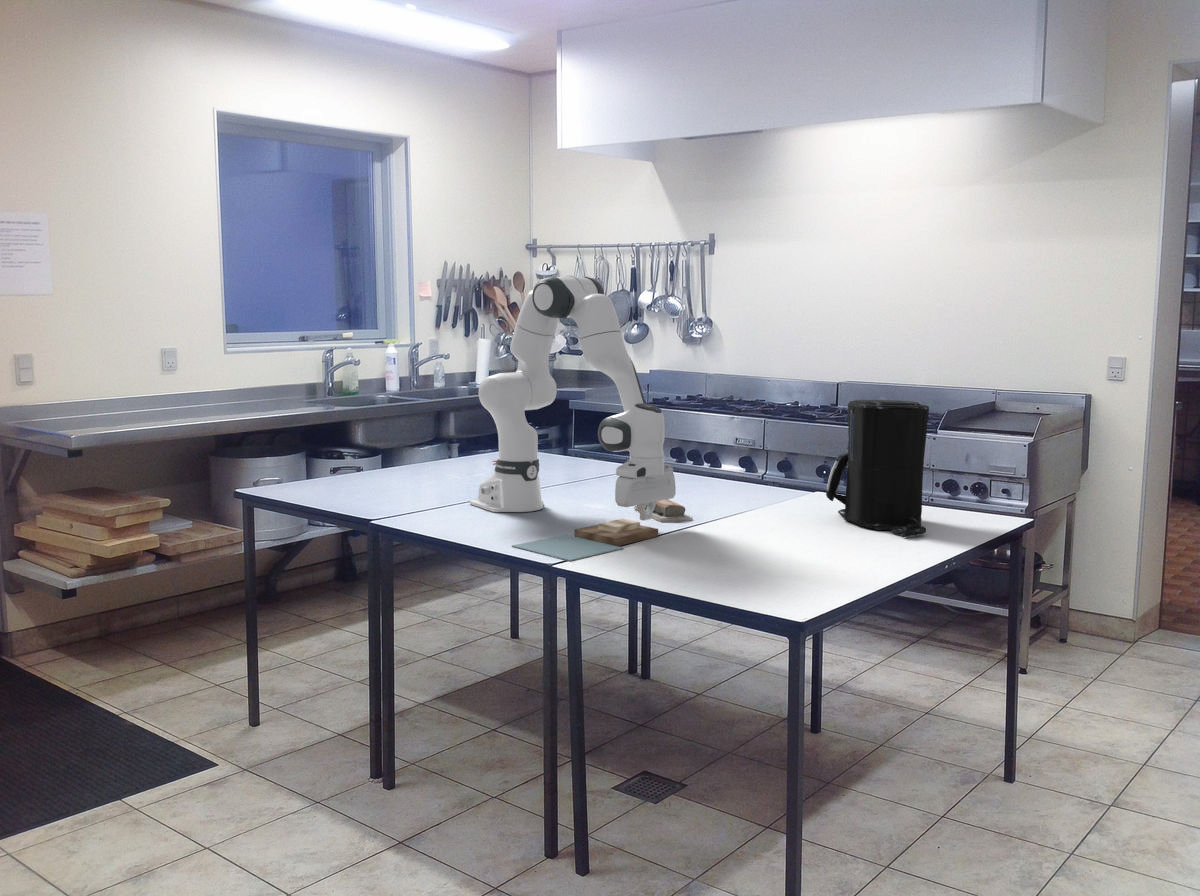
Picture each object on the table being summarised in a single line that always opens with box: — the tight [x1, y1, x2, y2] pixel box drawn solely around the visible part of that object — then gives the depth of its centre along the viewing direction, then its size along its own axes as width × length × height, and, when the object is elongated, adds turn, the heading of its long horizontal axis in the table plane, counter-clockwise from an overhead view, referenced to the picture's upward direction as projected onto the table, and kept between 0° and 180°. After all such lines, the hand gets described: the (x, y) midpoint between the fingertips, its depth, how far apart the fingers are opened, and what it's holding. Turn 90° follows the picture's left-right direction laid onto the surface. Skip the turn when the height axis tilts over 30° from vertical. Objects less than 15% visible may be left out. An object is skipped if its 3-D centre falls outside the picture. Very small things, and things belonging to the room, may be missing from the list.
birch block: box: [597, 518, 641, 533], centre depth 263 cm, size 9×6×2 cm, turn 136°
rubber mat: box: [511, 533, 624, 562], centre depth 250 cm, size 20×18×1 cm
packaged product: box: [633, 499, 693, 523], centre depth 291 cm, size 18×5×10 cm
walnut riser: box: [573, 524, 659, 547], centre depth 262 cm, size 14×16×2 cm
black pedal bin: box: [825, 399, 930, 538], centre depth 280 cm, size 23×32×34 cm
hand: (645, 519), depth 270 cm, fingers closed
